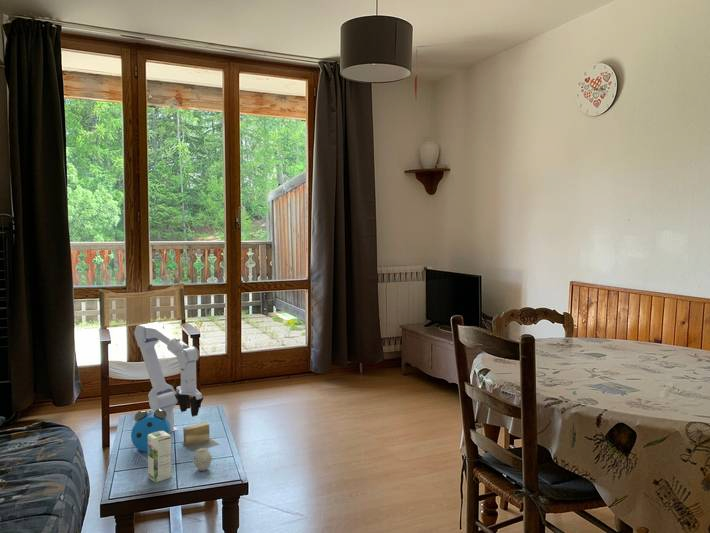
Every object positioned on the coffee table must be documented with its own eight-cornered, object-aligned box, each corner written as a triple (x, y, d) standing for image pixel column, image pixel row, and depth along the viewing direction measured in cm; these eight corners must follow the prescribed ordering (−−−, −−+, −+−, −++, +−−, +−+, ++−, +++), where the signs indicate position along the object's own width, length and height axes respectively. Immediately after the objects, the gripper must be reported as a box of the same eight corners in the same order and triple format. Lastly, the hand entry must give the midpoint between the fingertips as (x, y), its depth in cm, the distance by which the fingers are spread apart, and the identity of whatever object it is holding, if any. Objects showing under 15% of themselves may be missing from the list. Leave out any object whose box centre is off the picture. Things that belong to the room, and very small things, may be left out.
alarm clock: (171, 444, 201) (170, 405, 200) (169, 451, 195) (168, 411, 194) (134, 448, 199) (133, 408, 198) (131, 454, 193) (129, 414, 192)
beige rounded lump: (209, 463, 185) (209, 444, 185) (214, 471, 179) (214, 451, 179) (191, 467, 182) (190, 447, 182) (196, 475, 176) (195, 455, 176)
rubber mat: (180, 443, 203) (180, 442, 203) (205, 436, 209) (205, 435, 209) (193, 453, 194) (193, 452, 194) (219, 445, 201) (219, 444, 201)
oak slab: (183, 443, 202) (183, 427, 201) (206, 437, 208) (205, 422, 207) (187, 445, 199) (186, 430, 199) (209, 439, 205) (209, 424, 205)
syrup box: (147, 477, 175) (146, 434, 174) (165, 471, 179) (163, 429, 178) (155, 483, 171) (153, 439, 170) (172, 477, 175) (171, 434, 174)
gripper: (168, 377, 206) (169, 411, 208) (189, 384, 197) (190, 420, 198) (185, 373, 212) (185, 407, 213) (206, 380, 202) (206, 415, 203)
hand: (189, 413), depth 206 cm, fingers open, 7 cm apart
